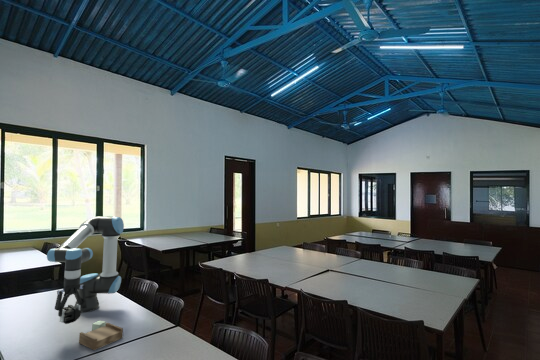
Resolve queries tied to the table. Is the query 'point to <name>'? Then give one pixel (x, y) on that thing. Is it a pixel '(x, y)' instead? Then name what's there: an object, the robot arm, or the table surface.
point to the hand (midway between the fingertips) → (69, 319)
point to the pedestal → (101, 336)
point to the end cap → (71, 314)
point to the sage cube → (98, 325)
